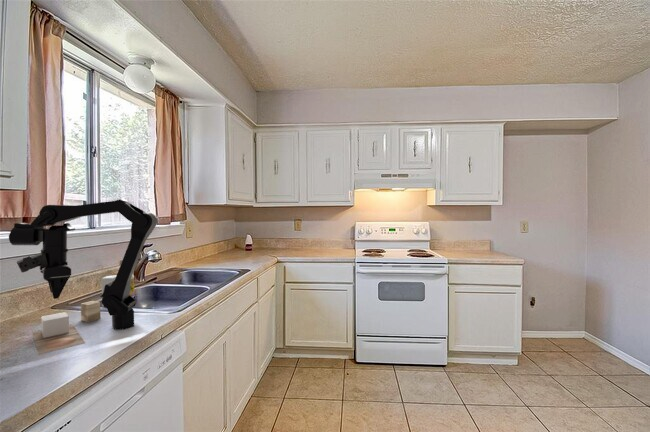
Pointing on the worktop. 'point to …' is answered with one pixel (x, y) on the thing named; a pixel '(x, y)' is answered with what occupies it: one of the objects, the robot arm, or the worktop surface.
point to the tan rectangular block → (90, 311)
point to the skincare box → (106, 281)
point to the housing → (54, 324)
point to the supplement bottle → (132, 286)
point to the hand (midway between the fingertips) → (54, 295)
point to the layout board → (57, 340)
